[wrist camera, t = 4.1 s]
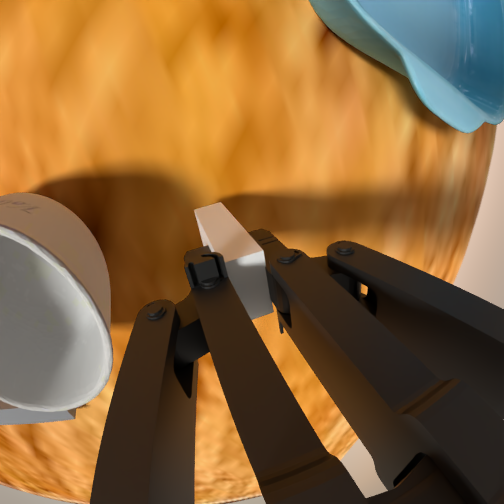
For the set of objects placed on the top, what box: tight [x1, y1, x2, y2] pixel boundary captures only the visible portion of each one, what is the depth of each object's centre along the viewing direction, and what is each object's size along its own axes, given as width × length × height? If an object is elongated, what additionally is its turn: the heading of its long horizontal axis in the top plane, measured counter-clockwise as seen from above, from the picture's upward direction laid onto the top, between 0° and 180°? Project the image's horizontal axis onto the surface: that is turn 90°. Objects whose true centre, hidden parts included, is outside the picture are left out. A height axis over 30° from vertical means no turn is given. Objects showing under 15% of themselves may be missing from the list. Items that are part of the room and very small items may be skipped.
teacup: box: [0, 193, 113, 412], centre depth 11 cm, size 14×11×8 cm
